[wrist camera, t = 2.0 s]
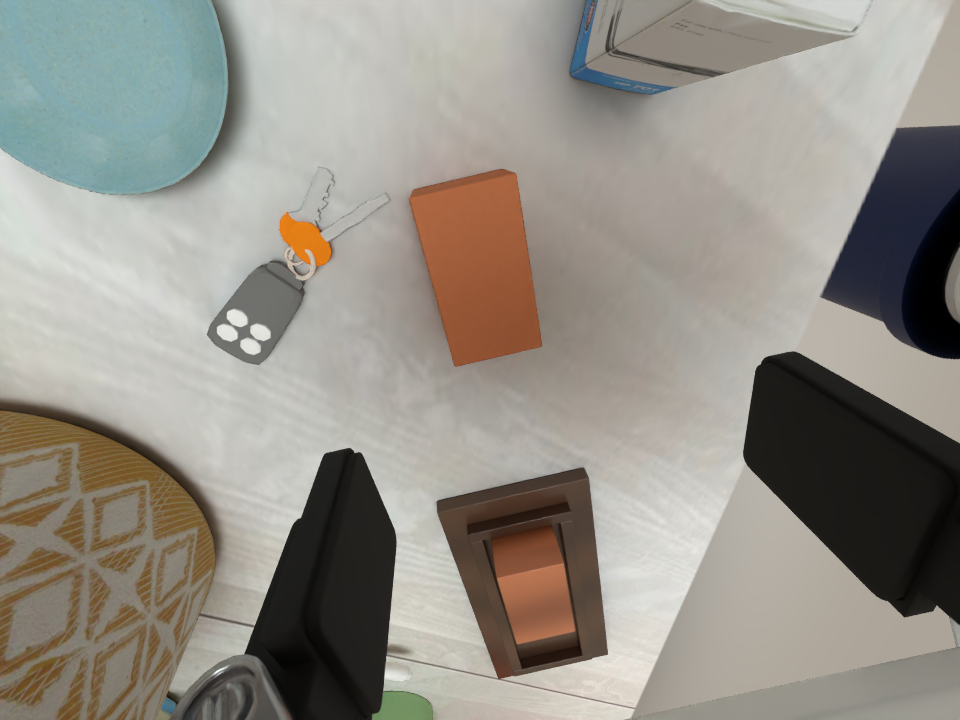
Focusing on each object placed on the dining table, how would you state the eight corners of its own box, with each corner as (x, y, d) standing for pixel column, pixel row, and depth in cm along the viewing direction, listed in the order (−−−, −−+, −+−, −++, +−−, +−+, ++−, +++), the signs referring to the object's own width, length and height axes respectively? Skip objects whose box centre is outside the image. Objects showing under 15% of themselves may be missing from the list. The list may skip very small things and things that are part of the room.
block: (412, 189, 22) (408, 197, 18) (503, 168, 22) (516, 172, 18) (452, 337, 26) (454, 367, 23) (528, 320, 26) (542, 347, 23)
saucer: (-73, 95, 18) (-136, 88, 16) (-53, -247, 14) (-133, -311, 12) (206, 234, 22) (183, 243, 20) (286, -4, 18) (267, -23, 16)
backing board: (436, 500, 33) (437, 558, 28) (584, 467, 32) (608, 519, 28) (496, 666, 45) (504, 726, 40) (604, 642, 45) (623, 699, 40)
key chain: (268, 363, 26) (259, 375, 24) (210, 329, 24) (197, 339, 23) (391, 197, 22) (388, 200, 21) (330, 145, 21) (323, 144, 19)
